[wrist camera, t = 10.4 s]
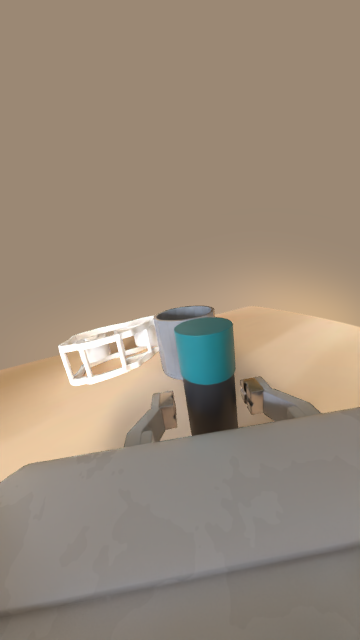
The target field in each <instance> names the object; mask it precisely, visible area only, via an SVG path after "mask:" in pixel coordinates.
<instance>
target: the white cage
mask: <svg viewBox="0 0 360 640" xmlns="http://www.w3.org/2000/svg"><path fill="white" fill-rule="evenodd" d="M153 318H154V316H149V317H144V318H139V319H136V320H132V321H129V322H125V323H120V324H115V325H110V326H105V327H101V328H97V329H94V330H90V331H87V332H83V333H80V334H76V335H74V336H71V338H70V339H69V340H67V341H66V342H64V343H62V344H60V345H58V347H59V352H60V355H61V358H62V361H63V364H64V367H65V369H66V372H67V375H68V378H69V381H70V384H72V385H73V386H79V385H83V384H94V383H97V382H100V381H103V380H106V379H109V378H112V377H115V376H118V375H121V374H123V373H126V372H129V371H130V370H132V369H134V368H137V367H139V366H141V365H142V364H143V363H144V362H145V361H147V360H149V359H150V358H151V357H152V356H153V355H154V354H155V353H157V352H159V347H158V341H157V336H156V330H155V325H154V320H153ZM113 330H114V335H111V336H107V335H106V334H104V333H105V332H109V331H113ZM133 335H134V340H135V344H136V345H137V346H138V347H135V348H132V349H128V350H125V348H124V344H123V340H122V339H124V338H127V337H131V336H133ZM115 341H116V343H117V347H118V351H119V352H116V353H112V354H111V351H110V347H109V343H112V342H115ZM154 346H156V347H154ZM151 347H154V348H151ZM147 348H148V351H147V352H144V353H141V354H138V355H135V356H131V357H128V358H126V357H125V356H126V355H130V354H134V353H137V352H139V351H142V350H144V349H147ZM76 350H77V351H79V354H80V357H81V360H82V362H83V363H84V364H83V365H81V367H80V369H79V371H78V372H77V373H76V374H75V375H73V372H72V369H71V366H70V363H69V360H68V357H67V354H66V352H71V351H76ZM119 357H120V359H121V363H122V367H120V368H118V369H115V370H112V371H108V372H105V373H102V374H99V375H93V374H92V370H91V367H93V366H96V365H99V364H101V363H103V362H106V361H108V360H112V359H115V358H119ZM85 370H86V373H87V376H86V377H82V376H83V375H84V374H85Z"/></svg>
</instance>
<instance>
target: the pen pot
mask: <svg viewBox="0 0 360 640" xmlns="http://www.w3.org/2000/svg"><path fill="white" fill-rule="evenodd" d="M206 317H215V311H214V308H212V307H209V306H186V307H180V308H174V309H170V310H166V311H163V312H160V313H158V314H156V315H155V316H154V318H153V320H154V325H155V330H156V336H157V341H158V347H159V352H160V357H161V363H162V368H163V371H164V372H165V374H166V375H168V376H169V377H171V378H174V379H179V380H183V376H182V375H181V373H180V367H179V360H178V354H177V347H176V341H175V335H174V328H175V327H176V326H177V325H178V324H180V323H182V322H185V321H188V320H192V319H197V318H206Z"/></svg>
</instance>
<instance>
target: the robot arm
mask: <svg viewBox="0 0 360 640" xmlns="http://www.w3.org/2000/svg"><path fill="white" fill-rule="evenodd" d="M240 385H241V387H242V389H241V396H242V399H243V401H244V403H245V404H247V408H248V410H249V411H250V413H251V415H254V414H261V413H264V414H265V415H266V416H268V417H269V418H271V419H272V420H274V421H275V422H270V423H264V424H258V425H252V426H247V427H241V428H235V429H229V430H223V431H217V432H212V433H206V434H200V435H194V436H188V437H183V438H177V439H171V440H165V441H160V439H161V437H162V436H163V434H164V432H165V430H167V429H172V428H177V418H176V415H177V414H176V405H175V400H174V393H173V391H169V392H161V393H155V394H153V397H152V404H151V409H150V410H148V411H147V412H146V414H145V415H144V416H143V417H142V418H141V419H140V420H139V421H138V422H137V423H136V425H135V426H134V427H133V428H132V429H131V430H130V431H129V432H128V433H127V436H126V440H125V444H124V448H119V449H113V450H107V451H101V452H95V453H89V454H84V455H78V456H72V457H66V458H60V459H55V460H49V461H42V462H35V463H31V464H28V465H25V466H23V467H22V468H20V469H19V470H17V471H16V472H14V473H13V474H11V475H10V476H8V477H7V478H6V479H4V480H3V481H2V482H0V640H360V407H357V408H351V409H345V410H340V411H334V412H328V413H320V412H319V411H318V410H317V409H316V408H315V407H314V406H313V405H312V404H310V403H309V402H306V401H304V400H301V399H299V398H296V397H294V396H291V395H289V394H286V393H284V392H281V391H279V390H276V389H272V388H271V387H270V386H269V385H268V384H267V383H266V381H265V380H264V379H263V378H262V377H260V376H259V377H254V378H249V379H243V380H240Z"/></svg>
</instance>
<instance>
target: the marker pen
mask: <svg viewBox="0 0 360 640" xmlns="http://www.w3.org/2000/svg"><path fill="white" fill-rule="evenodd" d="M174 335H175V341H176V347H177V354H178V360H179V367H180V373H181V375H182V376H183V382H184V389H185V395H186V402H187V408H188V415H189V421H190V428H191V434H192V436H194V435H200V434H206V433H212V432H217V431H223V430H229V429H235V428H238V422H237V407H236V392H235V377H234V372H235V369H236V367H235V352H234V336H233V323H232V322H231V321H230V320H228V319H224V318H217V317H206V318H197V319H192V320H188V321H185V322H182V323H180V324H178V325H177V326H176V327H175V328H174Z"/></svg>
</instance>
